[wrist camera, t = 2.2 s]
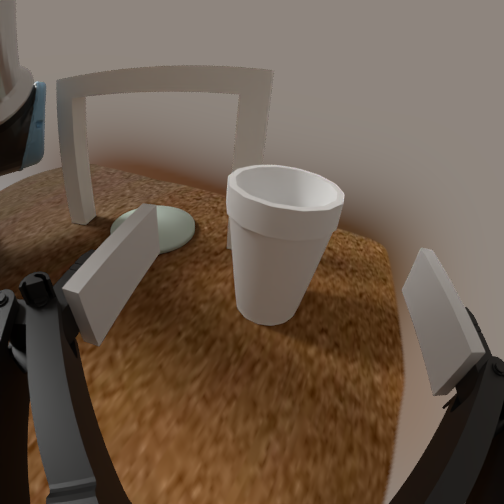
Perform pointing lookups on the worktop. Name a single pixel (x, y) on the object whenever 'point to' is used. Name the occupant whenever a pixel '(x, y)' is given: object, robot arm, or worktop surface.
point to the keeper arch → (158, 80)
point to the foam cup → (278, 236)
